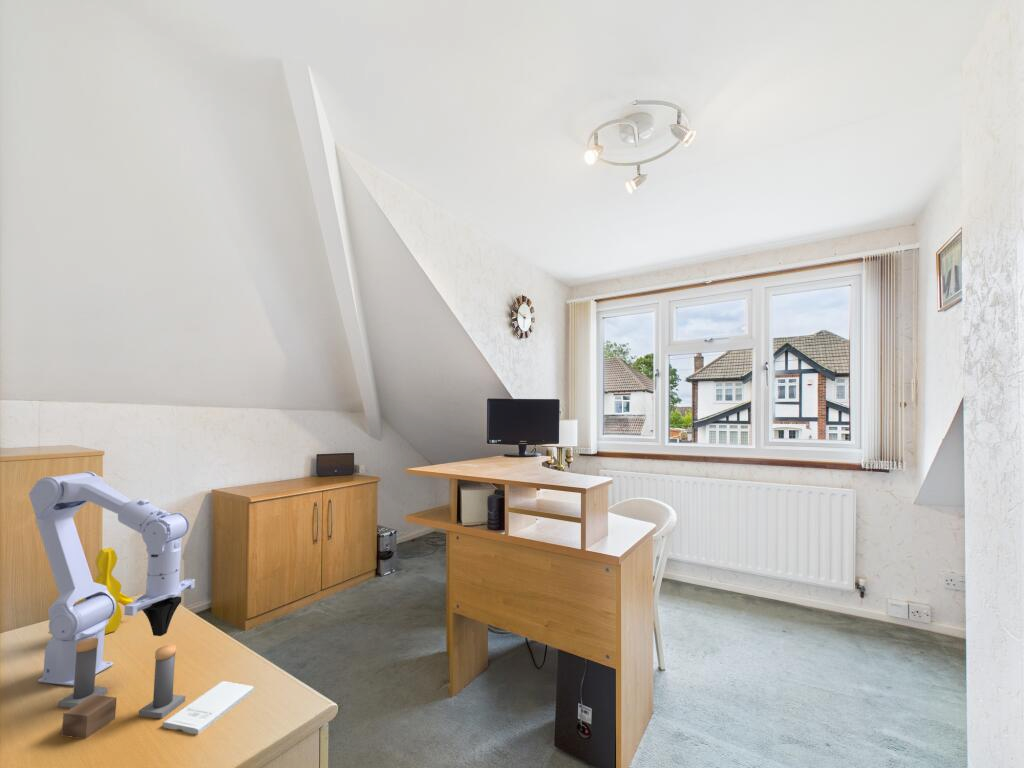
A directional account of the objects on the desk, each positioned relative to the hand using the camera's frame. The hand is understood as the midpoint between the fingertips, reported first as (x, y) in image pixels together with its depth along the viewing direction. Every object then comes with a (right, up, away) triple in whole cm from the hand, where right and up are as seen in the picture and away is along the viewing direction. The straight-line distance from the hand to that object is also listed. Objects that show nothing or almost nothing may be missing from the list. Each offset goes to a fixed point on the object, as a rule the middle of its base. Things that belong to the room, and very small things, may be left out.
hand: (159, 634), depth 95 cm
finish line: (0, -8, -9) cm, 13 cm away
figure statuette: (-30, -10, +17) cm, 35 cm away
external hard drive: (+18, -9, -10) cm, 23 cm away
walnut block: (0, -8, -16) cm, 18 cm away
